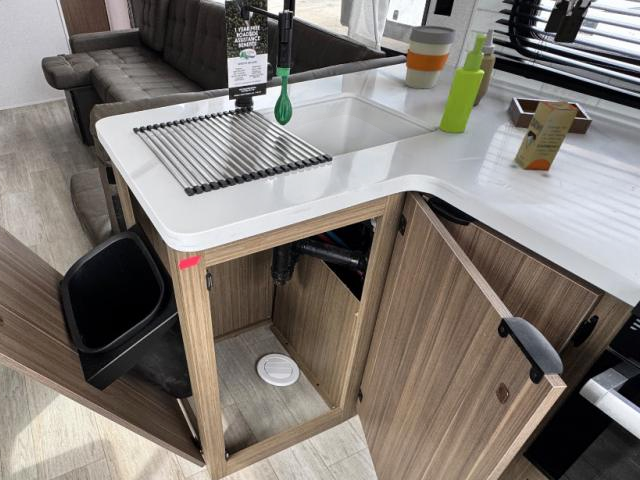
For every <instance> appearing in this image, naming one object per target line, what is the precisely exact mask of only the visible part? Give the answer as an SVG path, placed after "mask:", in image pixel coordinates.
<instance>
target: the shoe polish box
mask: <svg viewBox="0 0 640 480" xmlns="http://www.w3.org/2000/svg"><path fill="white" fill-rule="evenodd" d="M556 101H557V100H548V101H540V102H539V105H538V107H537V109H536V112H535V114H534V116H533V118H532V121H531V123H530V125H529V128H527V130H526V132H525V134H524V137H523V138H522V142H521V143H520V145H519V148H518V150H517V153H516V155H515V157H514V161H515V162H516V163H517V164H518V166H520V167H521V169H523V170H529V171H549V170H550V169H551V167H552V165H553V162H554V161H555V158H556V157H557V155H558V152H559V151H560V149H561V146H562V144H563V142H564V140H565V139H566V137H567V135H568V133H569V132H568V131H569V129H570V127H571V125H572V123H573V121H574V119H575V117H576V115H577V113H578V111H579V110H578V109H577V108H575V107H573V106H572V105H570V104H569V103H567V102H568V101H559V102H556Z"/></svg>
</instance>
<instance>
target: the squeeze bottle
mask: <svg viewBox="0 0 640 480" xmlns="http://www.w3.org/2000/svg"><path fill="white" fill-rule="evenodd" d="M494 32H495V29H494V28H488V30H487V32H486V33H485V35H486V39H485V41H484V43H483V46H482V49H481V52H482V53H484V56H483V59H482V62H481V65H480V68H479V69H480V70H483V71H484V75H483V78H482V81H481V83H480V86H479V89H478V92H477V95H476V98H475V101H474V104H473V106H477V105H479V103H481V100H482V99H483V98H484V96H485V95H486V93H487V92H488V89H489V86H490V81H491V78H492V74H493V69H494V66H495V62H496V56H495V55H494V53H495V49H496V45H495V44H493V40H494Z"/></svg>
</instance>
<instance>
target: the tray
mask: <svg viewBox="0 0 640 480" xmlns="http://www.w3.org/2000/svg"><path fill="white" fill-rule="evenodd" d="M540 101H549V100H548V99H547V100H546V99H537V98H536V99H535V98H525V97H514V96H513V97H512V98H511V101H510V103H509V106H508V107H507V111H508V115H509V116H510V118H511V120H512V123H513V125H514V127H515V128H523V129H525V128H526V129H528V128H529V125H530V123H531V121H532V118H533V116H534V114H535V112H536V109H537V107H538V105H539V102H540ZM555 101H556V102H560V101H559V100H555ZM566 102H567V103H569V104H570V105H572V106H573V107H575V108H577V109H578V110H579V111H578V113H577V115H576V117H575V119H574V121H573V123H572V125H571V127H570V129H569V131H568V133H574V134H583V135H586V133H587V131H588V129H589V128H590V126H591V124H592V122H593V119H592V117H591V116H590V115H589V114H588V113H587V112H586V110H585V109H584V108H583V107H582V106H581V105H580V104H579V102H570V101H566Z"/></svg>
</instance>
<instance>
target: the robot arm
mask: <svg viewBox="0 0 640 480" xmlns="http://www.w3.org/2000/svg"><path fill="white" fill-rule="evenodd" d="M597 1H598V0H555V2H554V6H553V7H552V9H551V12H550V15H549V17H548V20H547V21H546V24H545V27H544V28H543V29H544V30H543V32H544V33H546V34H555V36H554V38H553V42H554V43H561V44H573V43H574V42H576V38H577V37H578V34H579V32H580V30H581V27H582V25H583V23H584V20H585V18H586V16H587V14H588V12H589V9H590V7H591V5H592V3H596V2H597Z"/></svg>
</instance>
